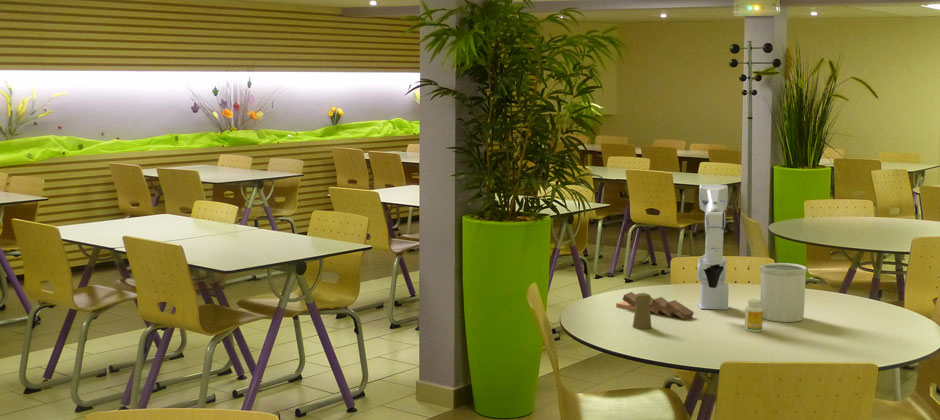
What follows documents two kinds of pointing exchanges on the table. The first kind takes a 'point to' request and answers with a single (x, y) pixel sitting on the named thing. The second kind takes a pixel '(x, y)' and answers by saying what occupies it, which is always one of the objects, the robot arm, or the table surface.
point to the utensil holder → (783, 291)
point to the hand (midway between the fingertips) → (712, 287)
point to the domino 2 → (625, 305)
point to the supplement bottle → (753, 316)
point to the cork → (642, 311)
